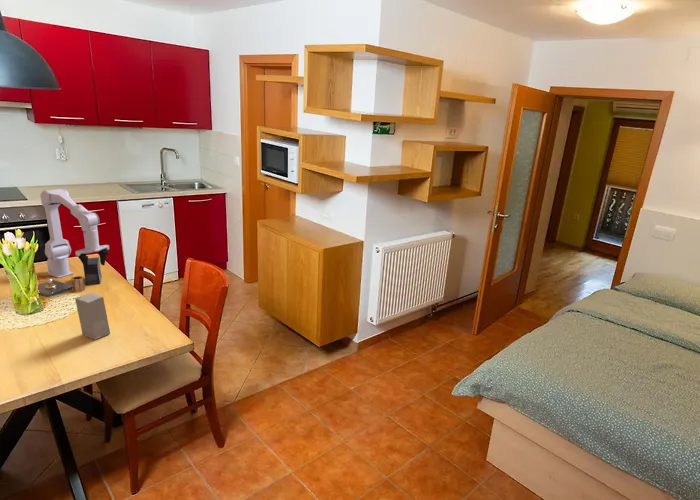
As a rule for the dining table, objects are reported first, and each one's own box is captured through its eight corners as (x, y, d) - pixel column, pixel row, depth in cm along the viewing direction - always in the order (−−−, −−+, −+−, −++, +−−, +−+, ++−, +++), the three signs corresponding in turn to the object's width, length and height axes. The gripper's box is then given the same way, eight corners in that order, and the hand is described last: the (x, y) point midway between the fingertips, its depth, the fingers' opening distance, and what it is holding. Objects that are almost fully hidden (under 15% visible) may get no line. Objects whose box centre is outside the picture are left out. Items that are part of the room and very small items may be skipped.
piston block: (27, 289, 203) (25, 279, 202) (53, 281, 214) (52, 272, 212) (48, 296, 198) (46, 286, 196) (74, 288, 208) (72, 278, 207)
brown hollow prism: (70, 290, 206) (69, 278, 204) (80, 287, 210) (79, 275, 208) (77, 292, 204) (75, 280, 202) (87, 289, 208) (85, 277, 206)
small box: (87, 277, 221) (84, 257, 218) (101, 276, 224) (99, 256, 221) (85, 285, 212) (82, 264, 209) (100, 283, 215) (98, 263, 212)
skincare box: (110, 334, 170) (106, 296, 165) (92, 341, 164) (87, 302, 159) (97, 328, 174) (93, 290, 169) (79, 335, 168) (74, 296, 163)
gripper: (79, 244, 197) (83, 272, 201) (111, 237, 209) (114, 264, 213) (71, 241, 201) (75, 269, 205) (103, 235, 212) (106, 261, 216)
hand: (94, 266), depth 209 cm, fingers open, 7 cm apart
